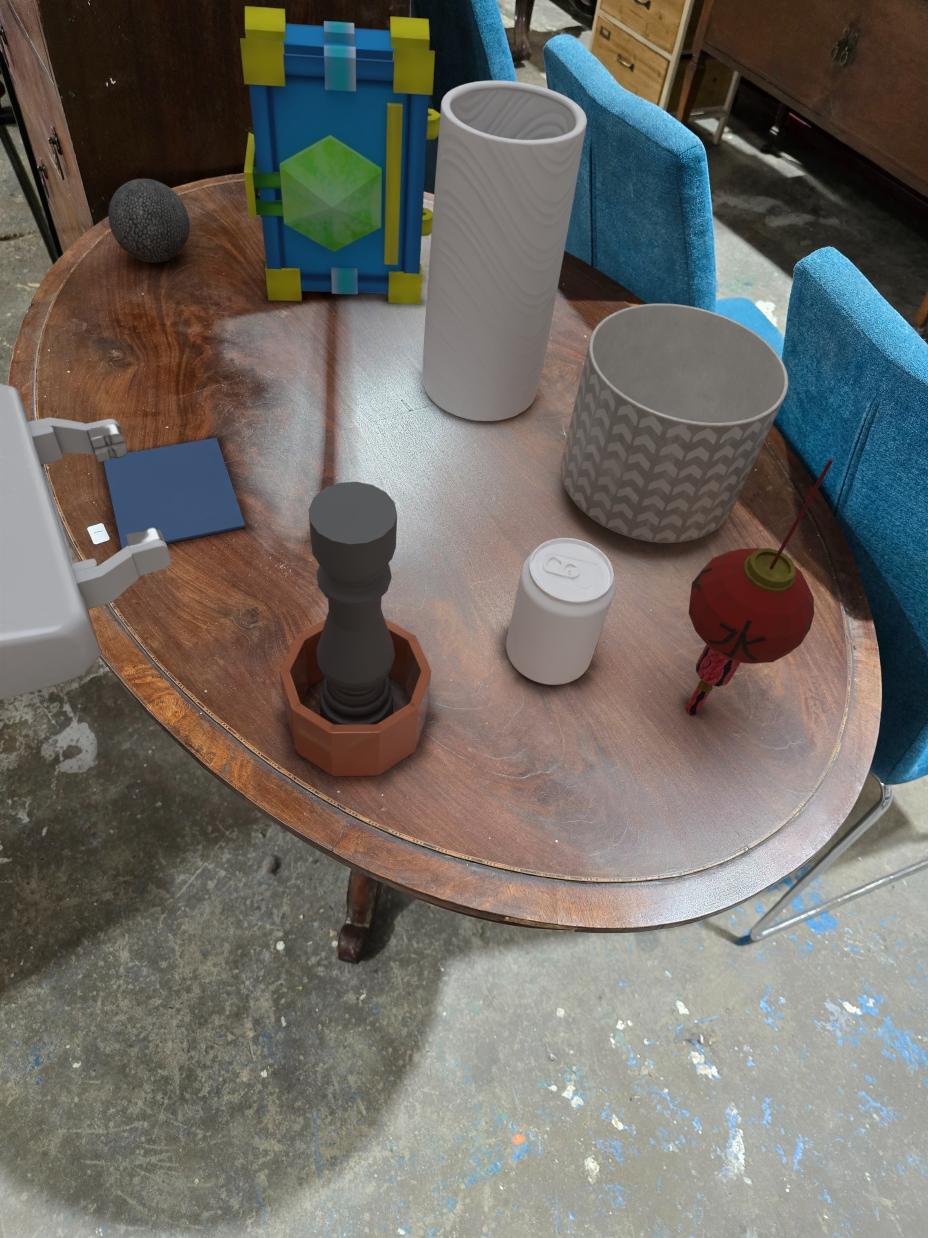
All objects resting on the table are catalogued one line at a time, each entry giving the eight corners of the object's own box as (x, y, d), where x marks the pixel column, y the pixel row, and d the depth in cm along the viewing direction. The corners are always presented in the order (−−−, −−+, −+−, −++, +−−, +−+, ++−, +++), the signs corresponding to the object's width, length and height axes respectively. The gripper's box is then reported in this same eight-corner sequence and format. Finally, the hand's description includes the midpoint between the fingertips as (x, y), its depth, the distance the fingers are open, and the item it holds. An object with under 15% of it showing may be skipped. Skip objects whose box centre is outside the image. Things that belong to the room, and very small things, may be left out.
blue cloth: (123, 553, 84) (122, 550, 84) (103, 460, 92) (102, 457, 91) (245, 527, 88) (245, 524, 87) (217, 440, 95) (216, 437, 95)
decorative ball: (109, 274, 113) (91, 198, 105) (127, 235, 119) (111, 160, 112) (187, 280, 114) (174, 205, 106) (201, 241, 120) (189, 167, 112)
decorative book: (262, 252, 120) (236, -2, 96) (427, 258, 123) (441, 12, 99) (257, 311, 111) (228, 46, 87) (434, 315, 114) (452, 61, 91)
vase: (556, 416, 103) (616, 138, 78) (443, 434, 99) (469, 149, 74) (511, 346, 111) (553, 75, 86) (405, 361, 107) (418, 81, 82)
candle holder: (308, 731, 74) (286, 527, 54) (341, 677, 77) (332, 467, 58) (373, 758, 73) (375, 559, 53) (404, 702, 76) (416, 497, 57)
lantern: (658, 653, 82) (774, 396, 59) (753, 692, 80) (914, 443, 57) (627, 728, 77) (742, 477, 53) (729, 773, 75) (895, 533, 51)
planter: (612, 583, 87) (660, 444, 73) (525, 463, 97) (553, 321, 83) (760, 535, 94) (830, 399, 79) (664, 427, 104) (711, 289, 89)
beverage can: (577, 700, 78) (606, 619, 69) (493, 671, 79) (510, 586, 70) (599, 635, 83) (629, 551, 74) (520, 608, 84) (539, 522, 75)
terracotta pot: (310, 796, 70) (305, 754, 64) (273, 678, 77) (266, 631, 71) (443, 755, 73) (449, 712, 68) (397, 646, 80) (399, 598, 75)
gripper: (-126, 473, 51) (112, 420, 56) (-86, 750, 41) (204, 656, 45) (-179, 385, 46) (87, 335, 51) (-148, 675, 36) (184, 578, 40)
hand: (143, 488), depth 48 cm, fingers open, 8 cm apart
